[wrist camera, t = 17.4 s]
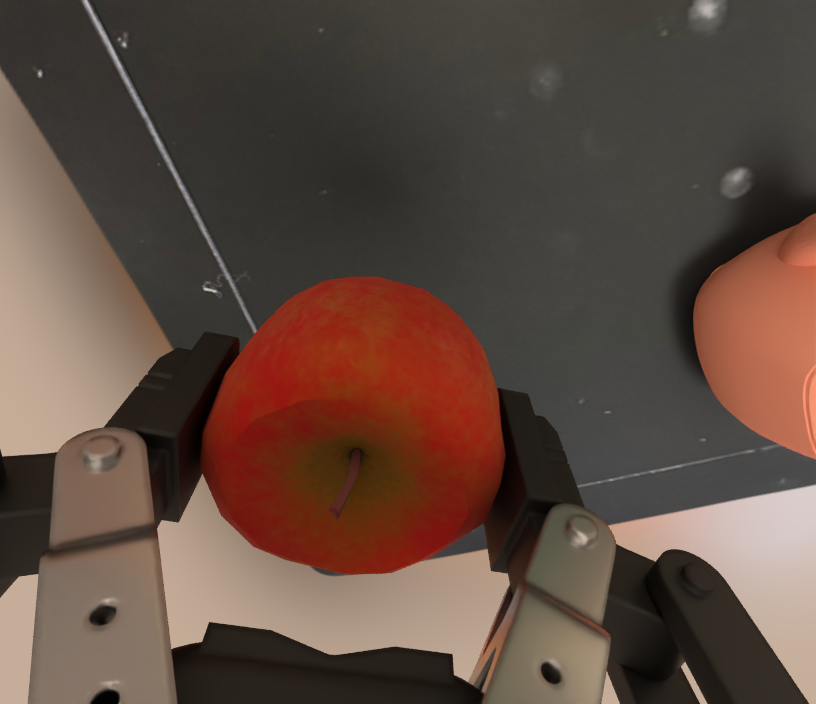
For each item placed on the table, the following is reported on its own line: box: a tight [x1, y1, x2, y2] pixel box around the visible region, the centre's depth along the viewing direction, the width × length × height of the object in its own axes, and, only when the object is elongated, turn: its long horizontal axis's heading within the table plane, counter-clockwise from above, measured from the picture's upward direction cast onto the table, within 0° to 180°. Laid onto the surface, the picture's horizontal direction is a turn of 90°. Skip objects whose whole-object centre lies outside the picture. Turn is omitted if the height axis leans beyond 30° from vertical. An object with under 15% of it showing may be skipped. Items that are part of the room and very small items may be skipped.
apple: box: [200, 277, 506, 575], centre depth 13 cm, size 6×6×8 cm
